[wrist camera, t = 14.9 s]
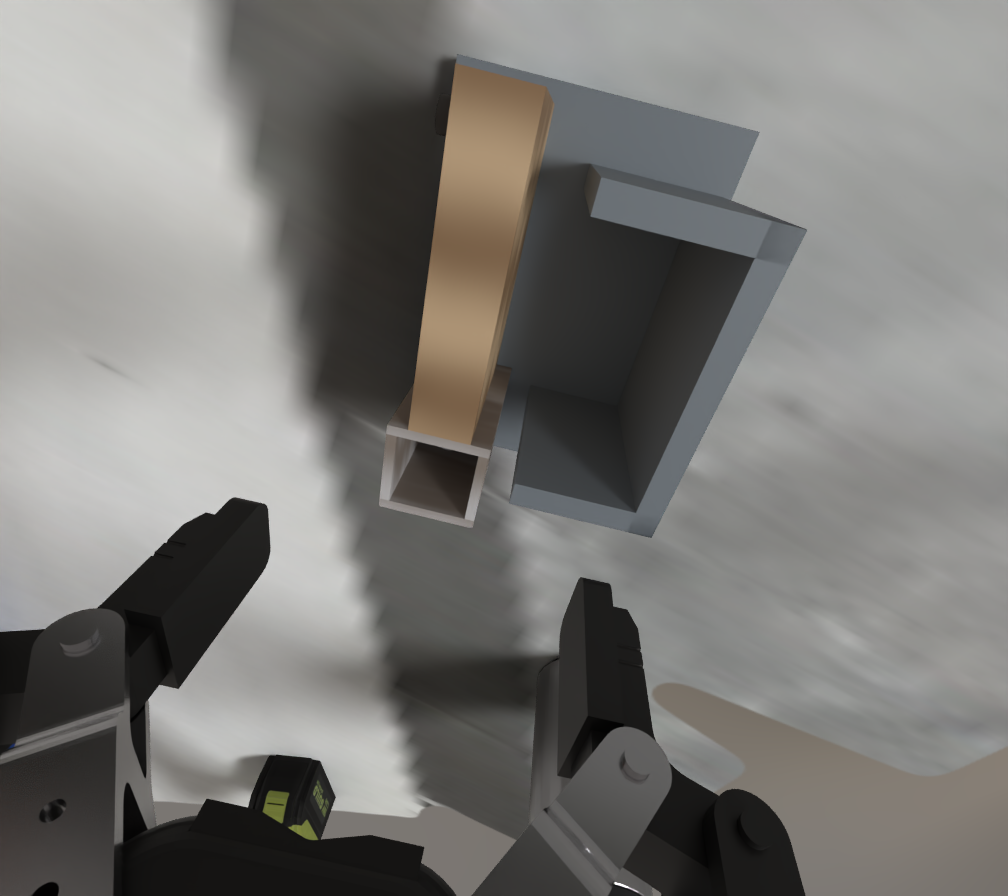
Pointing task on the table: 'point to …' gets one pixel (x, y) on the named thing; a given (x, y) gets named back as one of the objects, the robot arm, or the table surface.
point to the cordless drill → (294, 794)
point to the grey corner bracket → (629, 302)
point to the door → (467, 295)
